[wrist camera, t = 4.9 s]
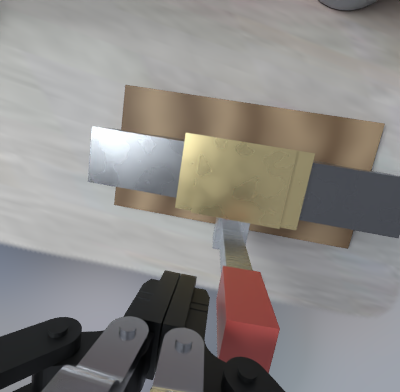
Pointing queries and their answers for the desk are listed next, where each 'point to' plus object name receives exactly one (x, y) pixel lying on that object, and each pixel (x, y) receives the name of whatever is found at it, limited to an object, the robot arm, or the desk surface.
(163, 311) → the robot arm
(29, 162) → the desk surface
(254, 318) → the valve lever
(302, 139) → the base board
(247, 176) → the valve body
